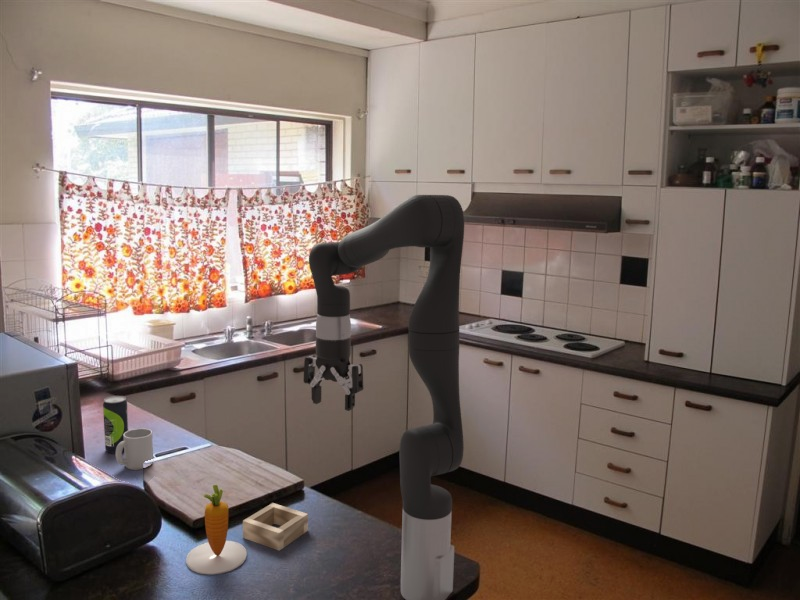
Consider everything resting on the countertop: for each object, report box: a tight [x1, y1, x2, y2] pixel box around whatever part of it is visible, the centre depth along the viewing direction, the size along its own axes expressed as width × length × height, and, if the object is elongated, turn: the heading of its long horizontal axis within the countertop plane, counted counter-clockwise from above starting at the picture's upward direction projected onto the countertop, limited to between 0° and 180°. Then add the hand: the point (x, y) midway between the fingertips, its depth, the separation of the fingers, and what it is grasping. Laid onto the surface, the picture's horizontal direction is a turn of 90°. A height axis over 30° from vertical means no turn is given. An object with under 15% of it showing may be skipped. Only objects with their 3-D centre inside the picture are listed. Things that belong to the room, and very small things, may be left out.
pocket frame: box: [242, 502, 309, 552], centre depth 154 cm, size 10×10×4 cm
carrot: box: [203, 484, 229, 556], centre depth 143 cm, size 5×5×15 cm
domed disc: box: [185, 540, 248, 575], centre depth 144 cm, size 12×12×1 cm
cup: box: [114, 428, 154, 471], centre depth 187 cm, size 7×10×9 cm
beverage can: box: [102, 395, 129, 454], centre depth 197 cm, size 6×6×15 cm
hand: (332, 406), depth 154 cm, fingers open, 8 cm apart
